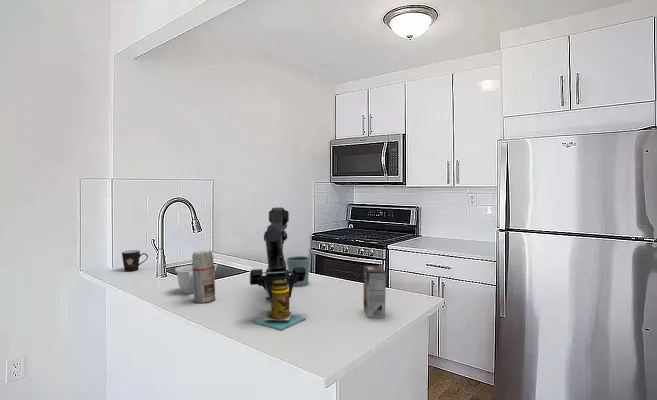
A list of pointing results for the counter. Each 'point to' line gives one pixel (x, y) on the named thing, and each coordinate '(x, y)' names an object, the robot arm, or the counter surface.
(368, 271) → the coffee box
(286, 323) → the mat
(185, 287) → the teacup
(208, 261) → the spray can
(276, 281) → the condiment
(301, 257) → the grey teal cup
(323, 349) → the counter surface
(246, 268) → the counter surface
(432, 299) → the counter surface
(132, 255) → the coffee mug
